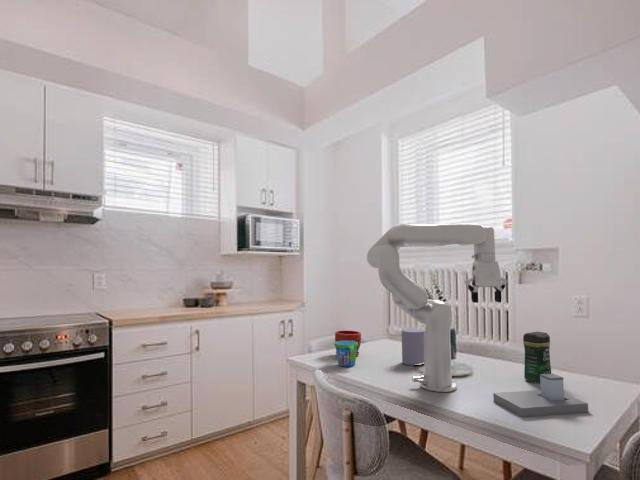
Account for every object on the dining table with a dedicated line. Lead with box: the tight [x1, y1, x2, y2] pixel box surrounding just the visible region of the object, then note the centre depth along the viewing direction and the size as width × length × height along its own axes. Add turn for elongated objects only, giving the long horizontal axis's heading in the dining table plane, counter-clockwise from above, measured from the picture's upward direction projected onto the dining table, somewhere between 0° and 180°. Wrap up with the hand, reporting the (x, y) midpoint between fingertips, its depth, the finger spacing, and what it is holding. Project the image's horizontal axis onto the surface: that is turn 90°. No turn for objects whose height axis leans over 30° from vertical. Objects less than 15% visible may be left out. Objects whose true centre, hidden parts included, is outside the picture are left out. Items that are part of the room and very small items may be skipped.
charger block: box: [539, 373, 565, 401], centre depth 122 cm, size 5×5×9 cm
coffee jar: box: [522, 331, 552, 384], centre depth 148 cm, size 10×8×19 cm
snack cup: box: [334, 340, 358, 368], centre depth 175 cm, size 16×10×10 cm
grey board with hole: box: [492, 389, 589, 418], centre depth 121 cm, size 22×14×2 cm, turn 99°
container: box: [401, 328, 425, 367], centre depth 177 cm, size 10×10×15 cm
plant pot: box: [334, 330, 362, 357], centre depth 193 cm, size 13×13×12 cm
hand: (486, 302), depth 148 cm, fingers open, 9 cm apart
